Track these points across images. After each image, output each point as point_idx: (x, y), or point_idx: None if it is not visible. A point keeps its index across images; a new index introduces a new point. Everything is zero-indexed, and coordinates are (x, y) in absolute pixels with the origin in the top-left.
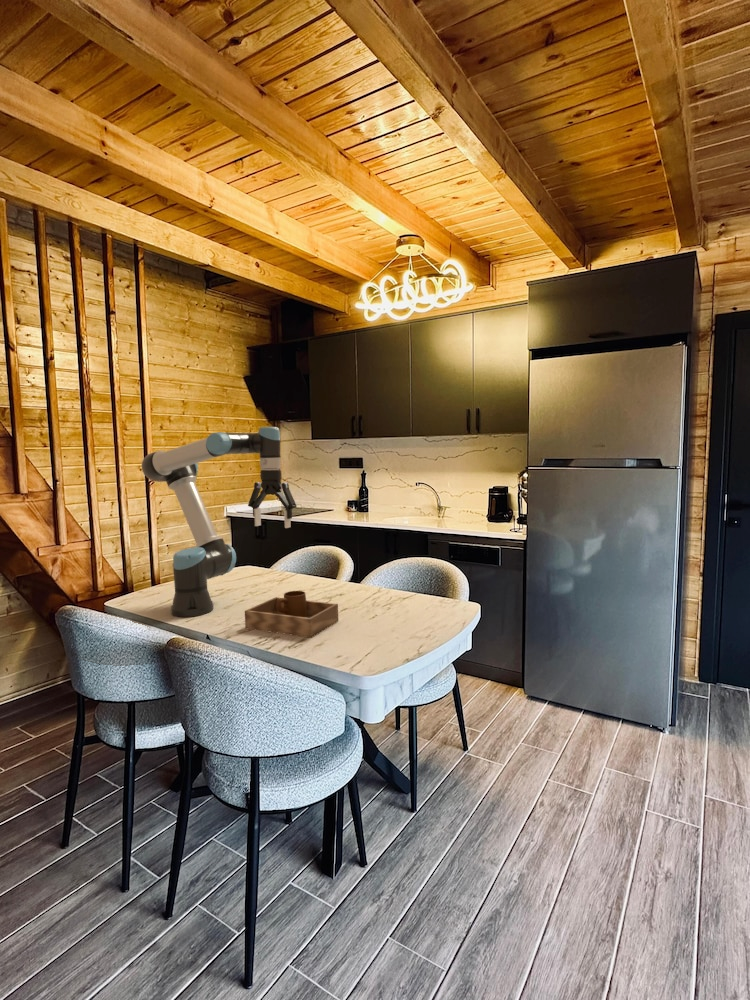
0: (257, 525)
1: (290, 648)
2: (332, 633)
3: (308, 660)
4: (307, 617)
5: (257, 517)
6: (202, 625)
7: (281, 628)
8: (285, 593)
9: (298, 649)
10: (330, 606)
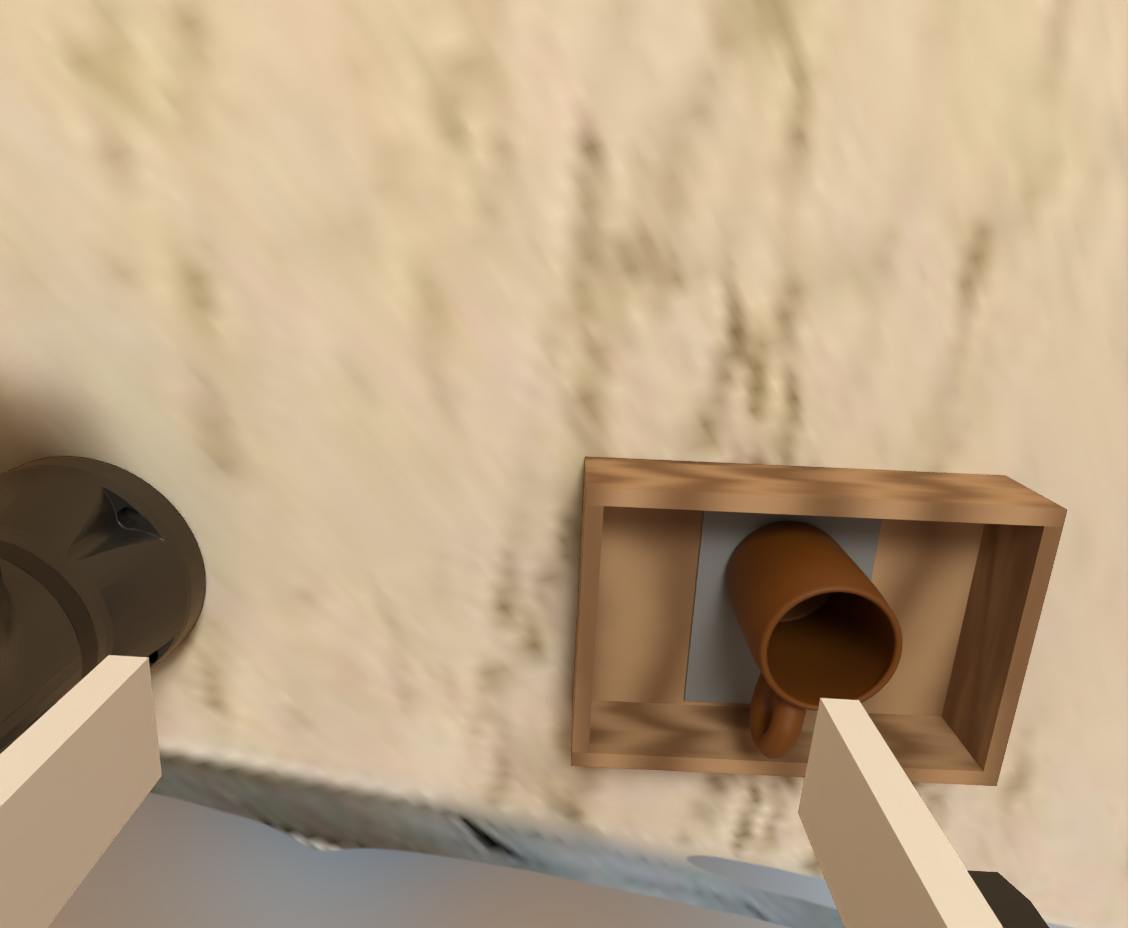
0: (155, 758)
1: None
2: (1032, 651)
3: None
4: (829, 518)
5: (50, 876)
6: (338, 729)
7: None
8: (766, 662)
9: None
10: (1035, 569)
